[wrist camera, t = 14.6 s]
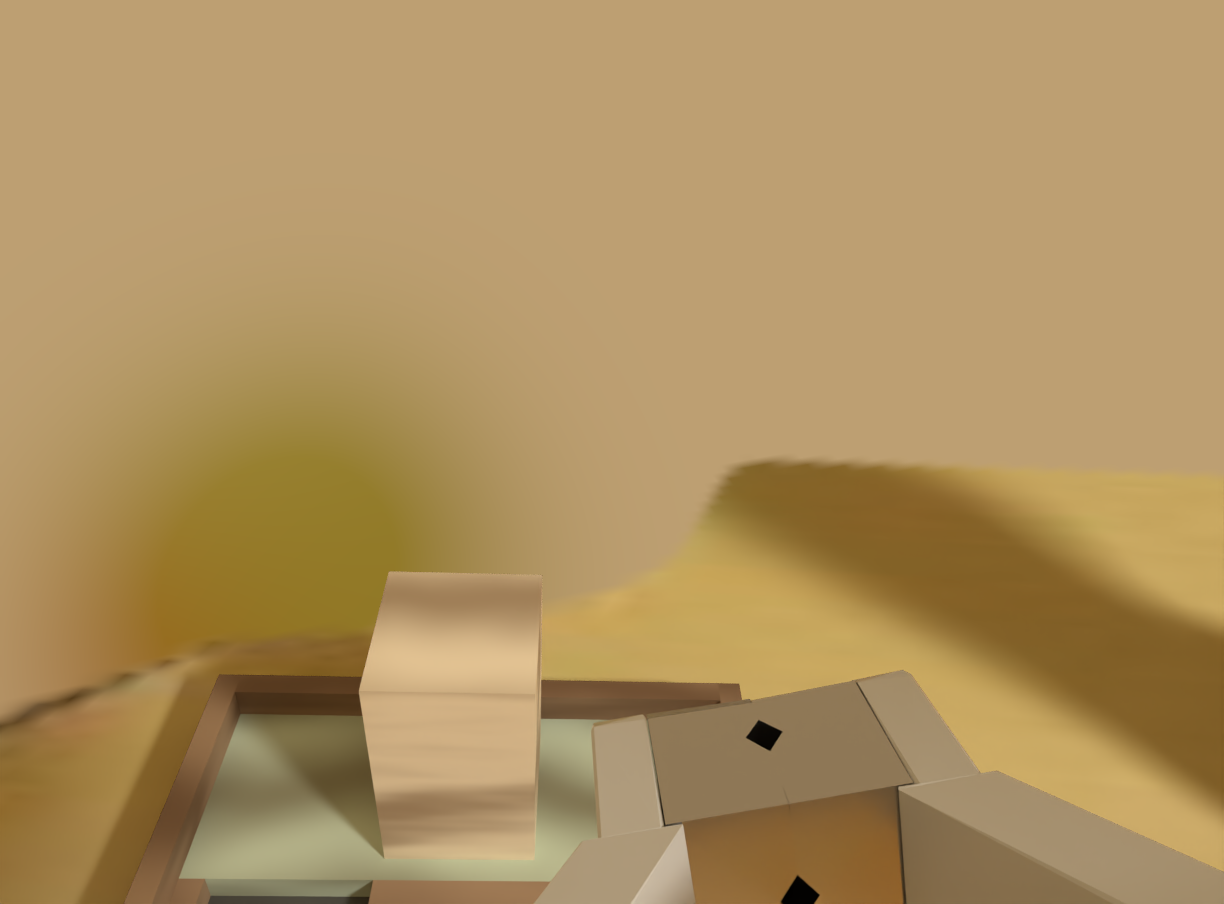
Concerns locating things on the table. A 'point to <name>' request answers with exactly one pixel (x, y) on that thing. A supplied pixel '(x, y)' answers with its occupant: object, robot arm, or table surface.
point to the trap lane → (358, 799)
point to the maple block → (455, 715)
